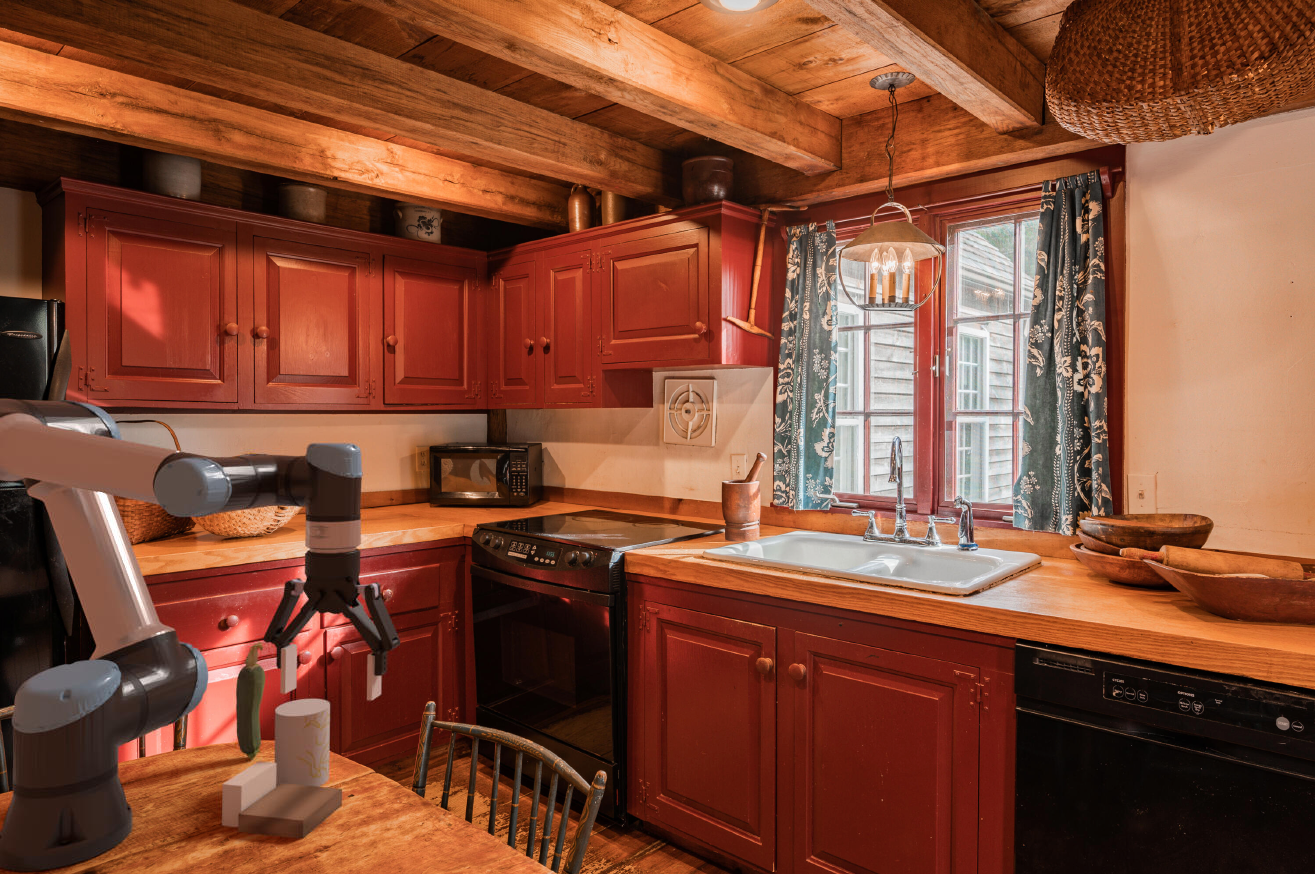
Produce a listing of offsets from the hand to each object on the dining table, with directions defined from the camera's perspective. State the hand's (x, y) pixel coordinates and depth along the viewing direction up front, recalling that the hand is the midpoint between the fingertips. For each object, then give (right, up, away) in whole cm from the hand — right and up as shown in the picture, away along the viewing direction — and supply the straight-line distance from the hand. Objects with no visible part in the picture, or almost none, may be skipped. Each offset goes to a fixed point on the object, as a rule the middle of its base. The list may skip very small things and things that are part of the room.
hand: (330, 694), depth 116 cm
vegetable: (-23, -18, +22) cm, 37 cm away
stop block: (-13, -18, +2) cm, 23 cm away
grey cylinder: (-10, -19, +13) cm, 25 cm away
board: (-6, -19, +1) cm, 20 cm away
